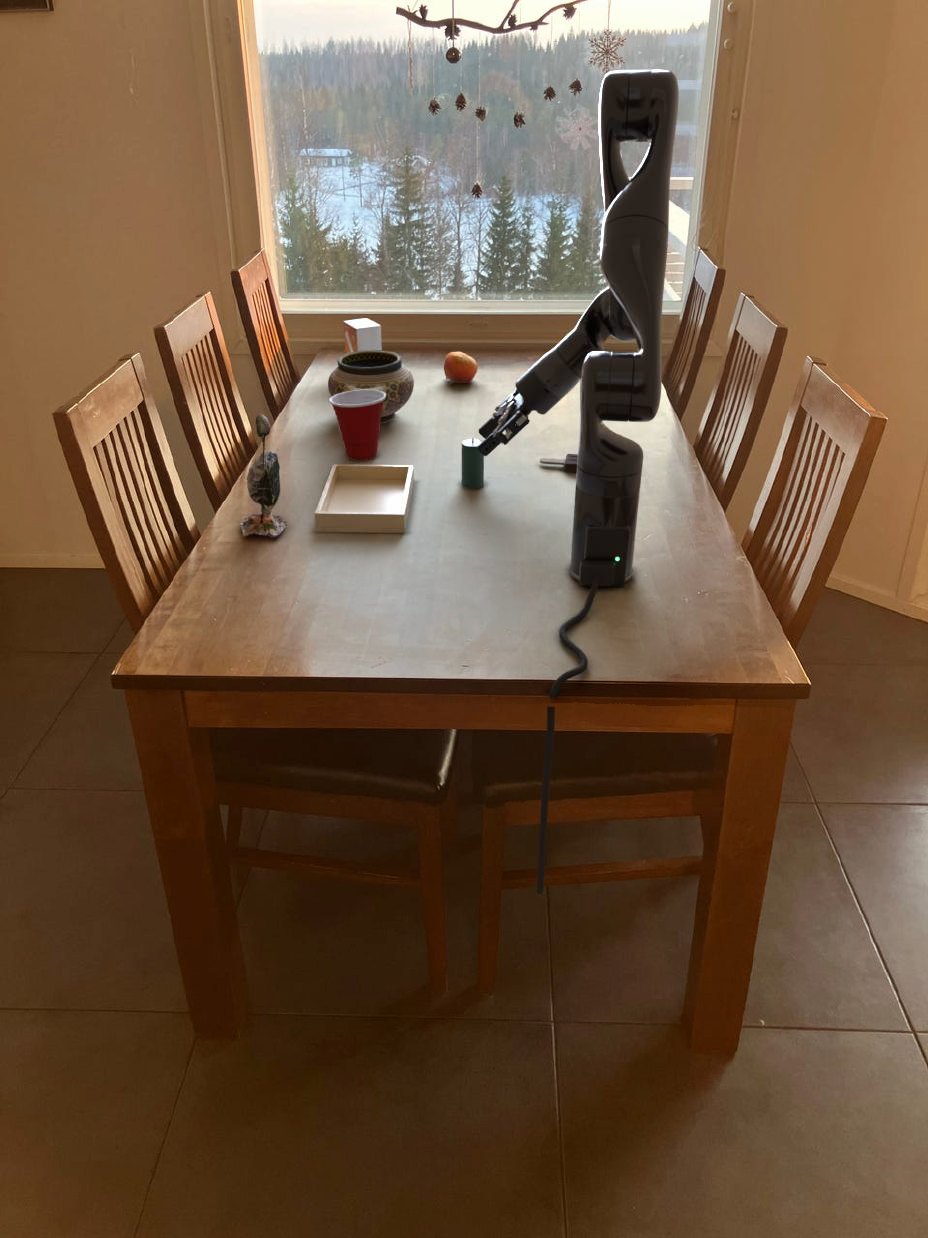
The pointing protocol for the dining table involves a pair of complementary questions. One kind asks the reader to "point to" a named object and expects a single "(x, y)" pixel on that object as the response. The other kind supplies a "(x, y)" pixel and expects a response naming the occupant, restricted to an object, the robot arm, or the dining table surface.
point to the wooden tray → (365, 499)
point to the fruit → (459, 367)
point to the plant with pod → (264, 488)
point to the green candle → (472, 464)
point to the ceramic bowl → (374, 378)
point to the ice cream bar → (564, 462)
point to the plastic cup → (359, 421)
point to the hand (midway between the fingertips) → (481, 443)
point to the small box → (362, 335)
